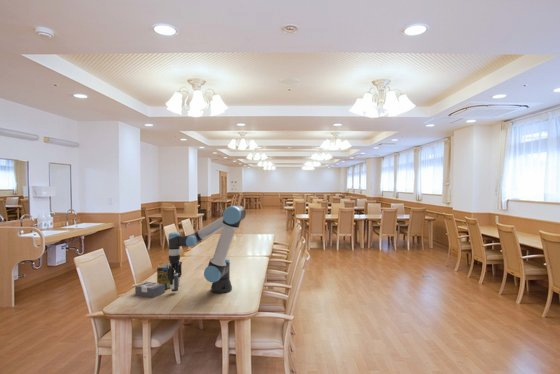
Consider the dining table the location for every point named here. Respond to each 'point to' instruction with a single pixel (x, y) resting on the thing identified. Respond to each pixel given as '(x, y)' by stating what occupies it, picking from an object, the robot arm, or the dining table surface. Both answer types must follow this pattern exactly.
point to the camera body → (150, 289)
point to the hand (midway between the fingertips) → (174, 287)
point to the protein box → (163, 275)
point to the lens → (175, 282)
